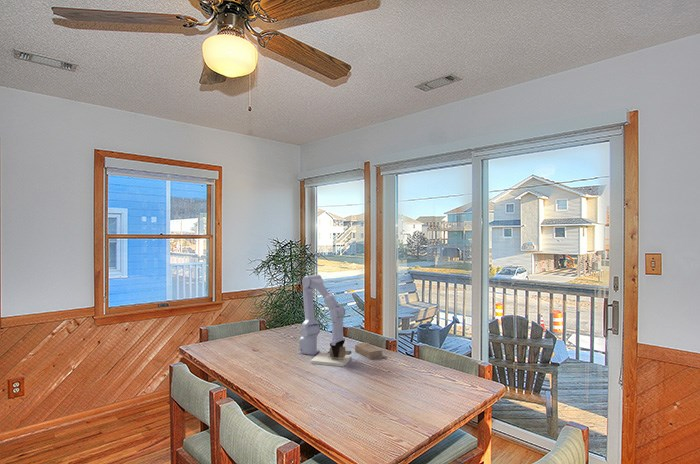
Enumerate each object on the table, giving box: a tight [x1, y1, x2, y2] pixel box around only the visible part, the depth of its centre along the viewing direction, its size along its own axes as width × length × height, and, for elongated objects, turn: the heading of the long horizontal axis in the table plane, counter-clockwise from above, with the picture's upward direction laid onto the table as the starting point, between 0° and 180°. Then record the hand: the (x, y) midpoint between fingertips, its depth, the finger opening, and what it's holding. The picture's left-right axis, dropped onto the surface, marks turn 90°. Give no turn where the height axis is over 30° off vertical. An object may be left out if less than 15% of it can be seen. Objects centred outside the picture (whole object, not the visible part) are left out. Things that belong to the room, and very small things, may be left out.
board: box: [310, 351, 352, 367], centre depth 198 cm, size 18×14×2 cm
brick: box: [354, 342, 383, 360], centre depth 208 cm, size 16×8×5 cm, turn 31°
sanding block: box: [329, 346, 346, 359], centre depth 197 cm, size 7×5×5 cm
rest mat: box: [327, 350, 352, 355], centre depth 210 cm, size 12×8×1 cm, turn 74°
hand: (337, 355), depth 197 cm, fingers closed on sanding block, 5 cm apart
